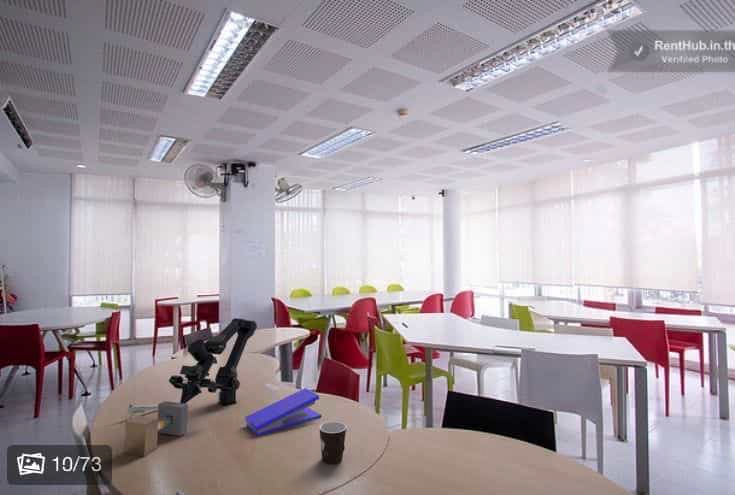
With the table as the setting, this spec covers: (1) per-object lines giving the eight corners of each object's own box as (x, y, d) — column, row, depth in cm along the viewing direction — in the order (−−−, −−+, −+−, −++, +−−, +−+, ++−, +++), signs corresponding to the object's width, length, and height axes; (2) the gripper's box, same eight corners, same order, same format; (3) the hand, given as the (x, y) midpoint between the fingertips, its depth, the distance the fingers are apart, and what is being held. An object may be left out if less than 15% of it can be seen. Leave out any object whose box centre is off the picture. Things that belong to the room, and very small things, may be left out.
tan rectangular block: (163, 431, 137) (164, 403, 137) (182, 434, 135) (183, 406, 135) (123, 453, 121) (125, 421, 121) (144, 456, 119) (145, 424, 119)
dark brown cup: (319, 452, 123) (320, 421, 124) (345, 452, 124) (346, 421, 125) (317, 472, 112) (318, 437, 112) (346, 471, 112) (347, 437, 113)
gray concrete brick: (163, 428, 138) (164, 401, 139) (186, 432, 136) (187, 404, 136) (157, 432, 135) (158, 403, 136) (180, 435, 133) (181, 407, 133)
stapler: (322, 418, 152) (322, 393, 153) (256, 437, 134) (257, 409, 135) (307, 410, 161) (307, 386, 162) (243, 427, 143) (244, 400, 143)
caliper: (126, 422, 145) (127, 405, 146) (125, 421, 146) (126, 405, 146) (175, 405, 163) (176, 391, 163) (174, 405, 164) (174, 390, 164)
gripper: (173, 354, 148) (149, 391, 137) (214, 358, 144) (192, 396, 132) (186, 369, 155) (164, 406, 144) (225, 373, 151) (206, 411, 139)
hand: (181, 404), depth 140 cm, fingers closed
